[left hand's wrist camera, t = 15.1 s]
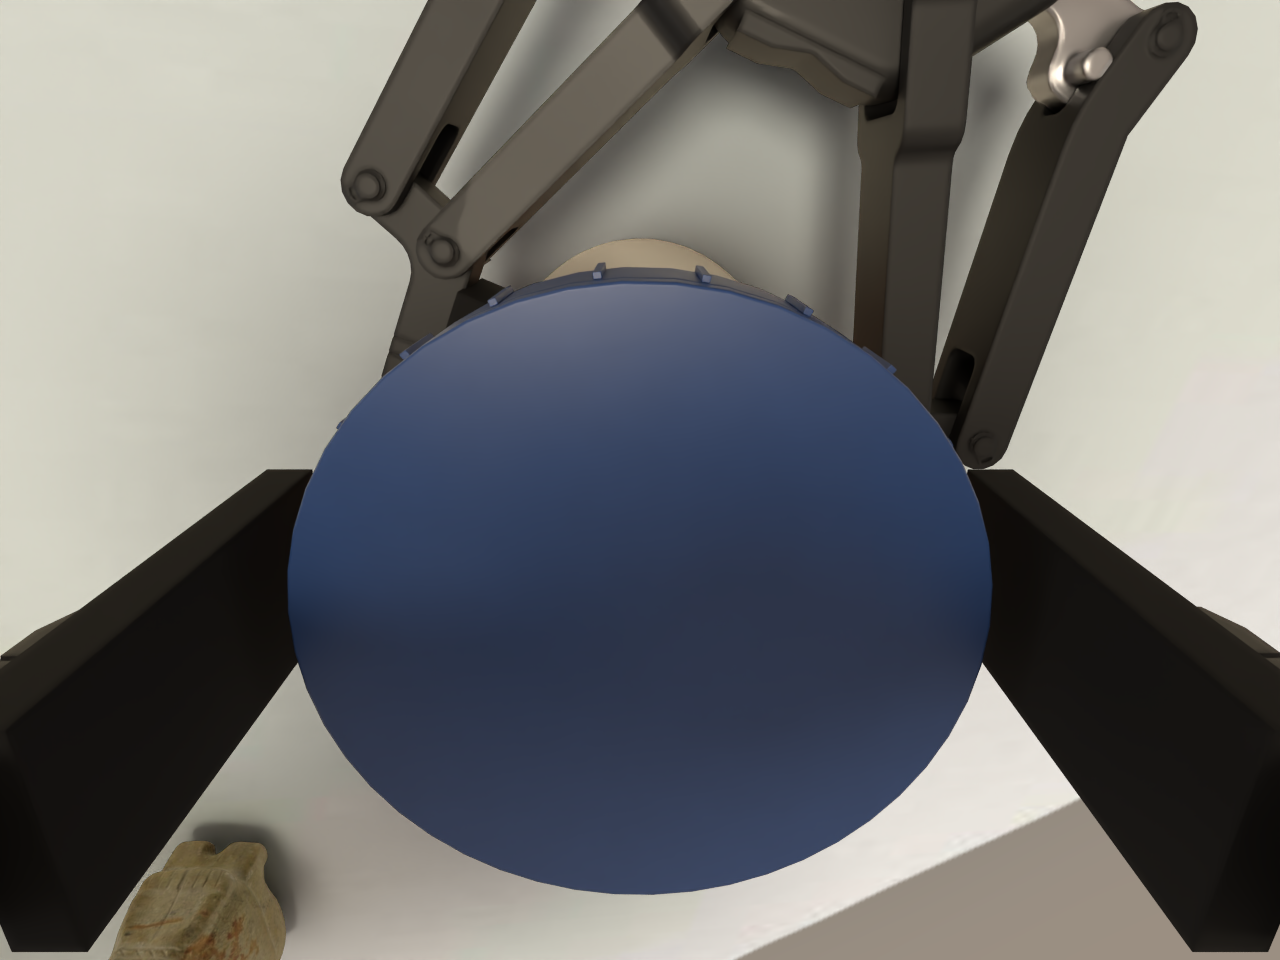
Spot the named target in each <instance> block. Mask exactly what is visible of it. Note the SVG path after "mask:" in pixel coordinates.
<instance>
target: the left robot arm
mask: <svg viewBox="0 0 1280 960" xmlns="http://www.w3.org/2000/svg"><path fill="white" fill-rule="evenodd" d="M312 474H313V472H312V470H266V471H265V472H263V473H262V474H261V475H259V476H258V477H256V478H255V479H254V480H252V481H251V482H250V483H248V484H247V485H246V486H244V487H243V488H242V489H240V490H239V491H238V492H236V493H235V494H234V495H232V496H231V497H230V498H228V499H227V500H226V501H224V502H223V503H222V504H220V505H219V506H218V507H216V508H215V509H214V510H212V511H211V512H210V513H208V514H207V515H206V516H204V517H203V518H202V519H200V520H199V521H198V522H196V523H195V524H194V525H192V526H191V527H190V528H188V529H187V530H186V531H184V532H183V533H182V534H180V535H179V536H177V537H176V538H175V539H173V540H172V541H171V542H169V543H168V544H167V545H165V546H164V547H163V548H161V549H160V550H159V551H157V552H156V553H155V554H153V555H152V556H151V557H149V558H148V559H147V560H145V561H144V562H143V563H141V564H140V565H139V566H137V567H136V568H135V569H133V570H132V571H131V572H129V573H128V574H127V575H125V576H124V577H123V578H121V579H120V580H119V581H117V582H116V583H115V584H113V585H112V586H111V587H109V588H108V589H107V590H105V591H104V592H102V593H101V594H100V595H98V596H97V597H96V598H94V599H93V600H92V601H90V602H89V603H88V604H86V605H85V606H84V607H82V608H81V609H80V610H78V611H76V612H74V613H72V614H70V615H67V616H65V617H63V618H61V619H59V620H57V621H55V622H53V623H51V624H48V625H46V626H44V627H42V628H40V629H38V630H36V631H34V632H33V633H31V634H30V635H29V636H27V637H26V638H25V639H23V640H22V641H20V642H19V643H18V644H16V645H15V646H14V647H12V648H11V649H9V650H8V651H7V652H5V653H4V654H3V655H1V659H0V925H1V927H2V930H3V932H4V934H5V937H6V939H7V941H8V944H9V946H10V949H11V951H12V952H88V951H89V949H90V948H91V947H92V945H93V944H94V942H95V941H96V940H97V938H98V937H99V936H100V934H101V933H102V931H103V930H104V929H105V927H106V926H107V924H108V923H109V922H110V920H111V919H112V918H113V916H114V915H115V913H116V912H117V911H118V909H119V908H120V907H121V905H122V904H123V902H124V901H125V900H126V898H127V897H128V896H129V894H130V893H131V891H132V890H133V889H134V887H135V886H136V885H137V883H138V882H139V880H140V879H141V878H142V876H143V875H144V874H145V872H146V871H147V869H148V868H149V867H150V865H151V864H152V863H153V861H154V860H155V858H156V857H157V856H158V854H159V853H160V852H161V850H162V849H163V847H164V846H165V845H166V843H167V842H168V840H169V839H170V838H171V836H172V835H173V834H174V832H175V831H176V829H177V828H178V827H179V825H180V824H181V823H182V821H183V820H184V818H185V817H186V816H187V814H188V813H189V812H190V810H191V809H192V807H193V806H194V805H195V803H196V802H197V801H198V799H199V798H200V796H201V795H202V794H203V792H204V791H205V790H206V788H207V787H208V785H209V784H210V783H211V781H212V780H213V779H214V777H215V776H216V774H217V773H218V772H219V770H220V769H221V767H222V766H223V765H224V763H225V762H226V761H227V759H228V758H229V756H230V755H231V754H232V752H233V751H234V750H235V748H236V747H237V745H238V744H239V743H240V741H241V740H242V739H243V737H244V736H245V734H246V733H247V732H248V730H249V729H250V728H251V726H252V725H253V723H254V722H255V721H256V719H257V718H258V717H259V715H260V714H261V712H262V711H263V710H264V708H265V707H266V706H267V704H268V703H269V701H270V700H271V699H272V697H273V696H274V694H275V693H276V692H277V690H278V689H279V688H280V686H281V685H282V683H283V682H284V681H285V679H286V678H287V677H288V675H289V674H290V672H291V671H292V670H293V668H294V667H295V666H296V664H297V663H298V661H297V658H296V654H295V651H294V645H293V639H292V633H291V627H290V621H289V615H288V573H287V572H288V564H289V557H290V549H291V542H292V535H293V529H294V525H295V522H296V519H297V516H298V512H299V509H300V506H301V502H302V499H303V496H304V492H305V489H306V487H307V485H308V483H309V481H310V478H311V476H312ZM967 475H968V478H969V480H970V482H971V485H972V487H973V489H974V492H975V494H976V497H977V499H978V501H979V505H980V509H981V513H982V517H983V521H984V525H985V529H986V533H987V537H988V541H989V549H990V561H991V572H992V584H993V587H992V602H991V617H990V628H989V633H988V637H987V642H986V646H985V651H984V655H983V660H982V663H983V664H984V666H985V667H986V668H987V670H988V671H989V672H990V674H991V675H992V677H993V678H994V679H995V681H996V682H997V683H998V685H999V686H1000V688H1001V689H1002V690H1003V692H1004V693H1005V694H1006V696H1007V697H1008V699H1009V700H1010V701H1011V703H1012V704H1013V706H1014V707H1015V708H1016V710H1017V711H1018V712H1019V714H1020V715H1021V717H1022V718H1023V719H1024V721H1025V722H1026V723H1027V725H1028V726H1029V728H1030V729H1031V730H1032V732H1033V733H1034V734H1035V736H1036V737H1037V739H1038V740H1039V741H1040V743H1041V744H1042V745H1043V747H1044V748H1045V750H1046V751H1047V752H1048V754H1049V755H1050V756H1051V758H1052V759H1053V761H1054V762H1055V763H1056V765H1057V766H1058V767H1059V769H1060V770H1061V772H1062V773H1063V774H1064V776H1065V777H1066V779H1067V780H1068V781H1069V783H1070V784H1071V785H1072V787H1073V788H1074V790H1075V791H1076V792H1077V794H1078V795H1079V796H1080V798H1081V799H1082V801H1083V802H1084V803H1085V805H1086V806H1087V807H1088V809H1089V810H1090V812H1091V813H1092V814H1093V816H1094V817H1095V818H1096V820H1097V821H1098V823H1099V824H1100V825H1101V827H1102V828H1103V829H1104V831H1105V832H1106V834H1107V835H1108V836H1109V838H1110V839H1111V840H1112V842H1113V843H1114V845H1115V846H1116V847H1117V849H1118V850H1119V852H1120V853H1121V854H1122V856H1123V857H1124V858H1125V860H1126V861H1127V863H1128V864H1129V865H1130V867H1131V868H1132V869H1133V871H1134V872H1135V874H1136V875H1137V876H1138V878H1139V879H1140V880H1141V882H1142V883H1143V885H1144V886H1145V887H1146V889H1147V890H1148V891H1149V893H1150V894H1151V896H1152V897H1153V898H1154V900H1155V901H1156V902H1157V904H1158V905H1159V907H1160V908H1161V909H1162V911H1163V912H1164V913H1165V915H1166V916H1167V918H1168V919H1169V920H1170V922H1171V923H1172V924H1173V926H1174V927H1175V929H1176V930H1177V931H1178V933H1179V934H1180V936H1181V937H1182V938H1183V940H1184V941H1185V942H1186V944H1187V945H1188V946H1189V948H1190V949H1191V951H1192V952H1268V951H1269V949H1270V946H1271V944H1272V941H1273V939H1274V937H1275V934H1276V932H1277V930H1278V927H1279V925H1280V652H1278V651H1277V650H1276V649H1274V648H1273V647H1271V646H1270V645H1269V644H1267V643H1266V642H1265V641H1263V640H1262V639H1260V638H1259V637H1258V636H1256V635H1255V634H1253V633H1252V632H1251V631H1249V630H1248V629H1246V628H1245V627H1243V626H1240V625H1238V624H1236V623H1234V622H1232V621H1230V620H1228V619H1226V618H1224V617H1221V616H1219V615H1217V614H1215V613H1213V612H1211V611H1209V610H1207V609H1204V608H1202V607H1196V606H1195V605H1194V604H1192V603H1191V602H1190V601H1188V600H1187V599H1186V598H1184V597H1183V596H1182V595H1180V594H1179V593H1178V592H1176V591H1175V590H1173V589H1172V588H1171V587H1169V586H1168V585H1167V584H1165V583H1164V582H1163V581H1161V580H1160V579H1159V578H1157V577H1156V576H1155V575H1153V574H1152V573H1151V572H1149V571H1148V570H1147V569H1145V568H1144V567H1143V566H1141V565H1140V564H1139V563H1137V562H1136V561H1135V560H1133V559H1132V558H1131V557H1129V556H1128V555H1127V554H1125V553H1124V552H1123V551H1121V550H1120V549H1119V548H1117V547H1116V546H1115V545H1113V544H1112V543H1111V542H1109V541H1108V540H1107V539H1105V538H1104V537H1103V536H1101V535H1100V534H1098V533H1097V532H1096V531H1094V530H1093V529H1092V528H1090V527H1089V526H1088V525H1086V524H1085V523H1084V522H1082V521H1081V520H1080V519H1078V518H1077V517H1076V516H1074V515H1073V514H1072V513H1070V512H1069V511H1068V510H1066V509H1065V508H1064V507H1062V506H1061V505H1060V504H1058V503H1057V502H1056V501H1054V500H1053V499H1052V498H1050V497H1049V496H1048V495H1046V494H1045V493H1044V492H1042V491H1041V490H1040V489H1038V488H1037V487H1036V486H1034V485H1033V484H1032V483H1030V482H1029V481H1028V480H1026V479H1025V478H1024V477H1022V476H1021V475H1019V474H1018V473H1017V472H1015V471H1014V470H968V472H967Z"/></svg>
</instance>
